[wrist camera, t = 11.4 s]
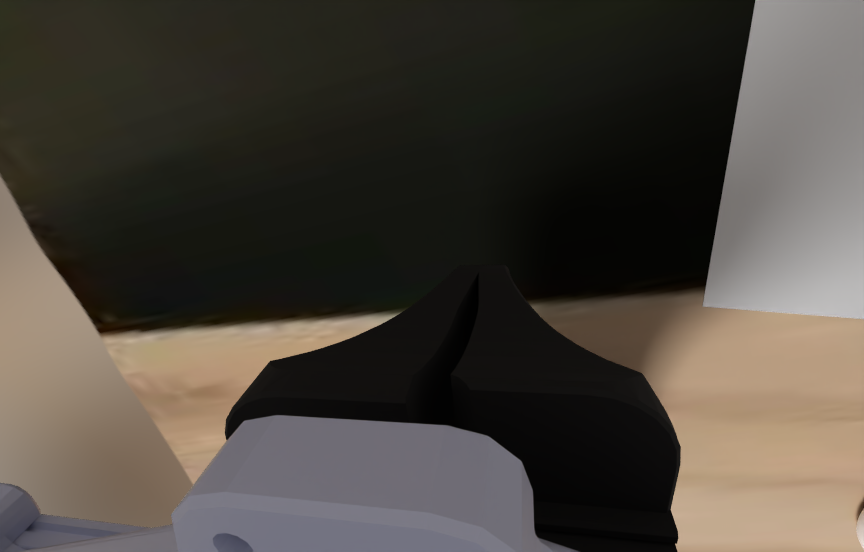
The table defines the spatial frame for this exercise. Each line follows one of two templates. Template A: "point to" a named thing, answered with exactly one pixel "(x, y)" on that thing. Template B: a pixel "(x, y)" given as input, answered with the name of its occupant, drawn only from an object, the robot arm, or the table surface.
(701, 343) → the table surface
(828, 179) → the dock
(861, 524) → the water bottle
